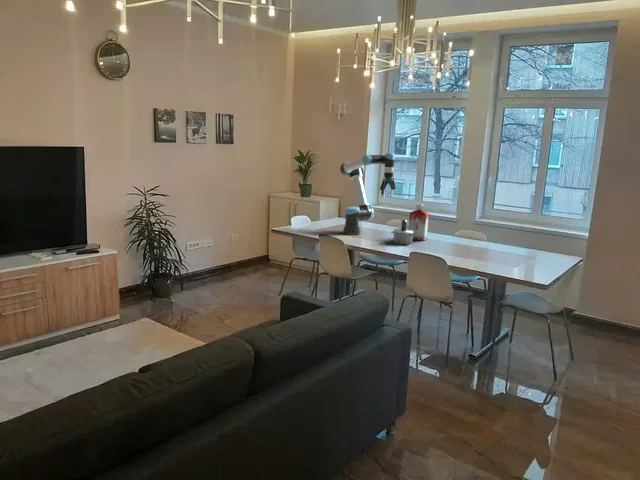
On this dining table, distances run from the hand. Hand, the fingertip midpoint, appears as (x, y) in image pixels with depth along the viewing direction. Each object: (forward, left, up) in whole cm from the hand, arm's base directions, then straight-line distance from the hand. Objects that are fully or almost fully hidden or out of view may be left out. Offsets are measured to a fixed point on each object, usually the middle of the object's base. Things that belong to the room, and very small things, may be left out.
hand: (387, 197), depth 427 cm
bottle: (+20, +20, -35) cm, 45 cm away
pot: (+19, -2, -35) cm, 40 cm away
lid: (+19, -2, -26) cm, 32 cm away
